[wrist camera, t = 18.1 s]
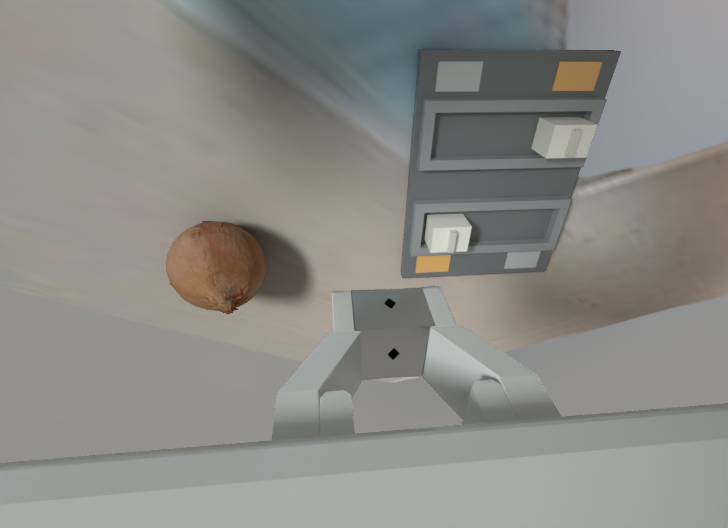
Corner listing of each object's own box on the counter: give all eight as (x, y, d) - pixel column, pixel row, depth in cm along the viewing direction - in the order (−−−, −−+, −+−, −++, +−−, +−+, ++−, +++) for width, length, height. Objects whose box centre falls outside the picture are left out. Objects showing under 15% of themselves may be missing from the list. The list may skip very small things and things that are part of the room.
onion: (260, 246, 46) (280, 316, 41) (179, 266, 44) (189, 343, 38) (247, 190, 38) (269, 267, 33) (146, 210, 36) (154, 297, 31)
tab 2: (539, 117, 36) (559, 127, 33) (578, 116, 36) (601, 126, 33) (531, 148, 38) (549, 160, 35) (569, 147, 38) (590, 159, 35)
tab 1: (426, 214, 41) (435, 230, 38) (462, 213, 41) (473, 229, 38) (424, 238, 42) (431, 255, 39) (458, 237, 43) (468, 254, 40)
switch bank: (419, 49, 33) (424, 51, 31) (612, 50, 34) (628, 52, 33) (400, 272, 46) (404, 283, 45) (540, 266, 48) (548, 276, 46)
